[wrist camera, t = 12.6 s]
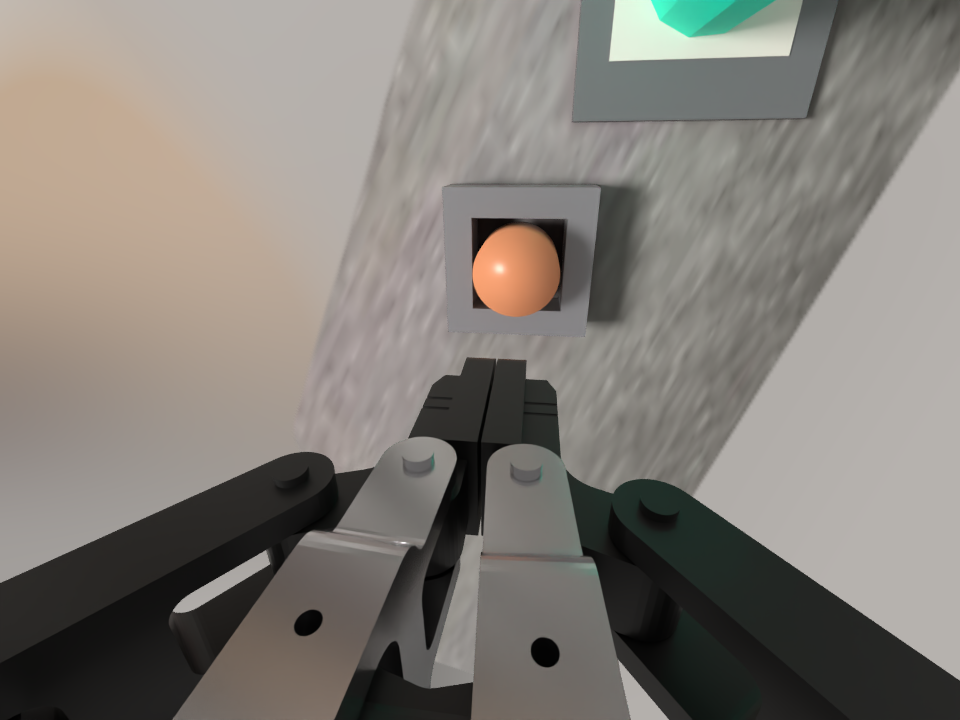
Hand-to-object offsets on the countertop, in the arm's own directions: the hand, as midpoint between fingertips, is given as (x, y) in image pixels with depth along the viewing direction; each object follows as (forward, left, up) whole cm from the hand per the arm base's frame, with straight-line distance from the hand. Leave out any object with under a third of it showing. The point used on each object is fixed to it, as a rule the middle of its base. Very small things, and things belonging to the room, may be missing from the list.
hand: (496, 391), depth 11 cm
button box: (0, 0, -16) cm, 16 cm away
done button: (0, 0, -15) cm, 15 cm away
